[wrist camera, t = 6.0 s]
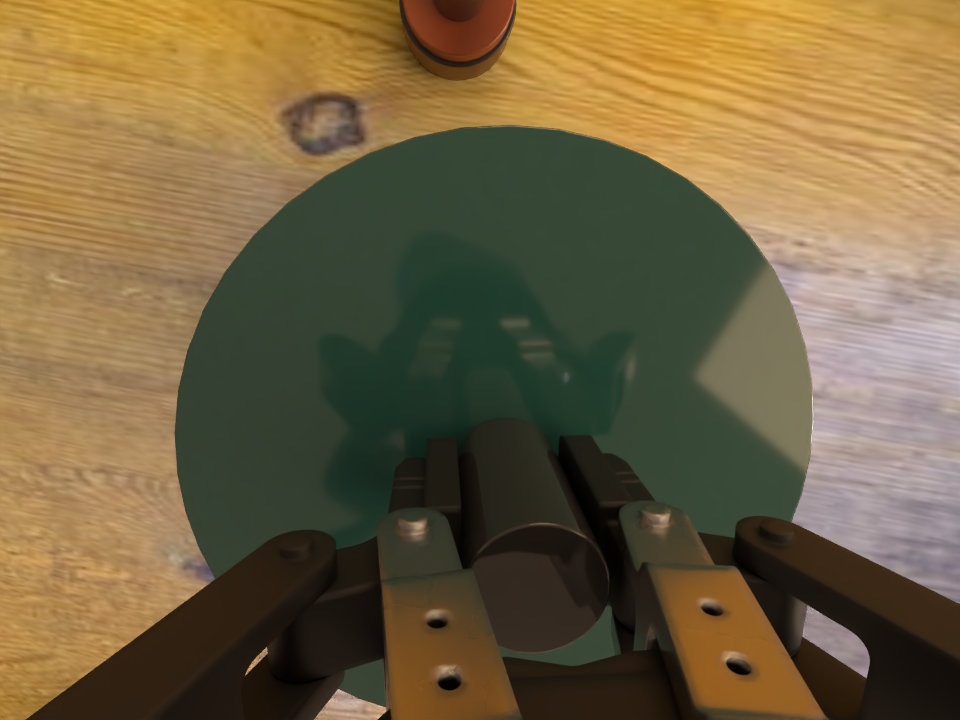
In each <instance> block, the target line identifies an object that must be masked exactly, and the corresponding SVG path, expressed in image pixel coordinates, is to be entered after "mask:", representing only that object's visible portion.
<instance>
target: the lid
mask: <svg viewBox="0 0 960 720" xmlns="http://www.w3.org/2000/svg"><path fill="white" fill-rule="evenodd" d="M813 421H814V417H813V393H812V379H811V374H810V368H809V363H808V357H807V352H806V346H805V342H804V339H803V336H802V333H801V330H800V327H799V324H798V321H797V318H796V315H795V312H794V309H793V306H792V304H791V302H790V300H789V298H788V296H787V294H786V293H785V291H784V289H783V287H782V285H781V283H780V281H779V279H778V277H777V275H776V273H775V271H774V269H773V268H772V266H771V265H770V263H769V262H768V261H767V259H766V258H765V256H764V255H763V254H762V252H761V251H760V249H759V248H758V246H757V245H756V244H755V242H754V241H753V239H752V238H751V237H750V235H749V234H748V233H747V232H746V231H745V230H744V229H743V228H742V227H741V226H740V225H739V224H738V223H737V222H736V221H735V220H734V219H733V218H732V216H731V215H730V214H729V213H728V212H727V211H726V210H725V209H724V208H723V207H722V206H721V205H720V204H719V203H717V202H716V201H715V200H713V199H712V198H711V197H710V196H708V195H707V194H706V193H704V192H703V191H702V190H701V189H699V188H698V187H697V186H695V185H694V184H693V183H692V182H690V181H689V180H688V179H686V178H685V177H683V176H681V175H680V174H678V173H676V172H674V171H672V170H671V169H669V168H667V167H665V166H664V165H662V164H660V163H658V162H657V161H655V160H653V159H651V158H649V157H648V156H646V155H643V154H640V153H638V152H635V151H633V150H630V149H627V148H625V147H622V146H620V145H617V144H615V143H612V142H609V141H607V140H604V139H600V138H596V137H591V136H587V135H583V134H578V133H574V132H570V131H565V130H561V129H554V128H542V127H530V126H518V125H500V126H482V127H464V128H458V129H453V130H448V131H443V132H438V133H433V134H428V135H423V136H418V137H414V138H411V139H408V140H405V141H402V142H400V143H397V144H394V145H391V146H388V147H385V148H382V149H380V150H377V151H374V152H371V153H369V154H367V155H365V156H363V157H361V158H359V159H357V160H355V161H353V162H351V163H349V164H347V165H345V166H343V167H341V168H340V169H338V170H336V171H334V172H332V173H330V174H328V175H326V176H325V177H323V178H322V179H320V180H319V181H318V182H316V183H315V184H313V185H312V186H311V187H309V188H308V189H306V190H305V191H304V192H302V193H301V194H299V195H298V196H297V197H295V198H294V199H292V200H291V201H290V202H288V203H287V204H286V205H285V206H284V207H283V208H282V209H281V210H280V211H279V212H278V213H277V214H275V215H274V216H273V217H272V218H271V219H270V220H269V221H268V222H267V223H266V224H265V225H264V226H263V227H262V228H261V229H260V230H259V231H258V232H257V233H256V234H254V236H253V237H252V238H251V239H250V241H249V242H248V243H247V244H246V246H245V247H244V248H243V250H242V251H241V252H240V253H239V255H238V256H237V257H236V258H235V260H234V261H233V262H232V264H231V265H230V266H229V267H228V269H227V270H226V271H225V273H224V275H223V276H222V278H221V280H220V282H219V283H218V285H217V287H216V289H215V290H214V292H213V294H212V296H211V297H210V299H209V301H208V303H207V304H206V306H205V308H204V310H203V312H202V315H201V317H200V320H199V322H198V325H197V327H196V330H195V332H194V335H193V338H192V340H191V343H190V345H189V348H188V350H187V355H186V359H185V363H184V368H183V372H182V376H181V381H180V385H179V389H178V398H177V410H176V423H175V445H176V460H177V474H178V478H179V483H180V488H181V492H182V497H183V502H184V506H185V511H186V514H187V517H188V520H189V522H190V525H191V528H192V530H193V533H194V536H195V538H196V541H197V544H198V547H199V549H200V551H201V553H202V555H203V556H204V558H205V560H206V562H207V564H208V566H209V568H210V569H211V571H212V573H213V575H214V577H215V579H217V578H218V577H219V576H221V575H222V574H223V573H225V572H226V571H228V570H229V569H230V568H232V567H233V566H234V565H236V564H237V563H238V562H240V561H241V560H242V559H244V558H245V557H246V556H248V555H249V554H251V553H252V552H253V551H255V550H256V549H257V548H259V547H260V546H261V545H263V544H264V543H265V542H267V541H268V540H270V539H272V538H274V537H276V536H278V535H281V534H283V533H287V532H290V531H295V530H318V531H322V532H325V533H327V534H329V535H331V536H332V537H333V538H334V540H335V542H336V548H337V549H341V548H345V547H350V546H354V545H358V544H361V543H363V542H366V541H368V540H370V539H372V538H374V537H375V536H377V525H378V522H379V521H380V520H381V519H382V518H383V517H384V516H386V515H387V514H388V511H389V505H390V499H391V492H392V486H393V481H394V474H395V468H396V467H397V466H398V465H399V464H400V463H401V462H402V461H403V460H404V459H405V458H426V451H427V438H456V444H457V457H458V470H459V483H460V497H461V539H462V546H461V551H460V562H461V565H462V568H463V569H469V568H471V569H472V570H473V572H474V575H475V578H476V581H477V584H478V587H479V590H480V593H481V596H482V599H483V602H484V605H485V608H486V611H487V614H488V617H489V620H490V623H491V626H492V629H493V632H494V635H495V638H496V641H497V644H498V647H499V650H500V653H501V656H502V657H514V658H521V659H527V660H534V661H541V662H547V663H554V664H561V665H568V666H578V665H583V664H586V663H590V662H594V661H597V660H601V659H605V658H608V657H612V656H615V651H614V646H613V641H612V636H611V616H612V608H611V606H606V605H607V602H608V598H609V594H610V587H611V577H610V570H609V567H608V563H607V561H606V558H605V556H604V554H603V552H602V550H601V548H600V546H599V544H598V541H597V539H596V537H595V535H594V533H593V531H592V529H591V527H590V524H589V522H588V520H587V518H586V516H585V514H584V512H583V510H582V507H581V505H580V503H579V501H578V499H577V497H576V495H575V493H574V490H573V488H572V486H571V484H570V482H569V480H568V478H567V476H566V473H565V471H564V469H563V467H562V465H561V463H560V461H559V459H558V445H559V439H560V436H563V435H591V436H592V438H593V439H594V441H595V442H596V444H597V445H598V447H599V448H600V450H601V452H602V453H613V454H614V455H616V456H618V457H620V458H621V459H623V460H625V461H626V462H628V464H629V465H630V467H631V468H632V469H633V471H634V472H635V474H636V475H637V476H638V477H639V479H640V480H641V483H643V484H644V486H645V487H646V488H647V490H648V491H649V493H650V494H651V495H652V497H653V498H654V499H655V501H656V502H662V503H666V504H669V505H672V506H674V507H676V508H678V509H680V510H682V511H683V512H684V513H686V514H687V515H688V517H689V518H690V520H691V521H692V523H693V525H694V527H695V529H696V531H697V532H701V533H707V534H713V535H720V536H726V537H733V538H734V536H735V529H736V524H737V522H738V521H739V520H741V519H743V518H746V517H750V516H768V517H774V518H779V519H782V520H786V521H789V522H791V521H792V519H793V516H794V513H795V511H796V508H797V505H798V502H799V500H800V497H801V494H802V490H803V486H804V482H805V477H806V473H807V469H808V464H809V460H810V453H811V442H812V432H813ZM338 689H340V690H342V691H344V692H346V693H349V694H351V695H353V696H355V697H357V698H359V699H362V700H365V701H368V702H371V703H374V704H377V705H380V706H383V707H386V697H385V683H384V668H383V659H380V660H377V661H373V662H370V663H367V664H364V665H360V666H357V667H354V668H351V669H348V670H345V675H344V679H343V681H342V684H341V685H340V687H339V688H338Z"/></svg>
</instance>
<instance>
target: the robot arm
mask: <svg viewBox="0 0 960 720" xmlns="http://www.w3.org/2000/svg"><path fill="white" fill-rule="evenodd" d="M558 459H559V461H560V463H561V465H562V467H563V469H564V471H565V473H566V476H567V478H568V480H569V482H570V484H571V486H572V488H573V490H574V493H575V495H576V497H577V499H578V501H579V503H580V505H581V507H582V510H583V512H584V514H585V516H586V518H587V520H588V522H589V524H590V527H591V529H592V531H593V533H594V535H595V537H596V539H597V541H598V544H599V546H600V548H601V550H602V552H603V554H604V556H605V558H606V561H607V563H608V567H609V570H610V577H611V587H610V594H609V598H608V602H607V605H606V606H611V608H612V616H611V636H612V641H613V646H614V651H615V656H612V657H608V658H605V659H601V660H597V661H594V662H590V663H586V664H583V665H578V666H568V665H561V664H554V663H547V662H541V661H534V660H527V659H521V658H514V657H502V656H501V653H500V650H499V647H498V644H497V641H496V638H495V635H494V632H493V629H492V626H491V623H490V620H489V617H488V614H487V611H486V608H485V605H484V602H483V599H482V596H481V593H480V590H479V587H478V584H477V581H476V578H475V575H474V572H473V570H472V569H471V568H469V569H463V568H462V565H461V562H460V551H461V546H462V539H461V497H460V483H459V470H458V457H457V444H456V438H427V451H426V458H405V459H404V460H403V461H402V462H401V463H400V464H399V465H398V466H397V467H396V468H395V474H394V481H393V486H392V492H391V499H390V505H389V511H388V514H387V515H386V516H384V517H383V518H382V519H381V520H380V521H379V522H378V525H377V536H375V537H374V538H372V539H370V540H368V541H366V542H363V543H361V544H358V545H354V546H350V547H345V548H341V549H337V548H336V542H335V540H334V538H333V537H332V536H331V535H329V534H327V533H325V532H322V531H318V530H295V531H290V532H287V533H283V534H281V535H278V536H276V537H274V538H272V539H270V540H268V541H267V542H265V543H264V544H263V545H261V546H260V547H259V548H257V549H256V550H255V551H253V552H252V553H251V554H249V555H248V556H246V557H245V558H244V559H242V560H241V561H240V562H238V563H237V564H236V565H234V566H233V567H232V568H230V569H229V570H228V571H226V572H225V573H223V574H222V575H221V576H219V577H218V578H217V579H215V580H214V581H213V582H211V583H210V584H209V585H207V586H206V587H204V588H203V589H202V590H200V591H199V592H198V593H196V594H195V595H194V596H192V597H191V598H190V599H188V600H187V601H186V602H184V603H183V604H181V605H180V606H179V607H177V608H176V609H175V610H173V611H172V612H171V613H169V614H168V615H167V616H165V617H164V618H163V619H161V620H160V621H158V622H157V623H156V624H154V625H153V626H152V627H150V628H149V629H148V630H146V631H145V632H144V633H142V634H141V635H140V636H138V637H137V638H135V639H134V640H133V641H131V642H130V643H129V644H127V645H126V646H125V647H123V648H122V649H121V650H119V651H118V652H117V653H115V654H114V655H112V656H111V657H110V658H108V659H107V660H106V661H104V662H103V663H102V664H100V665H99V666H98V667H96V668H95V669H94V670H92V671H91V672H89V673H88V674H87V675H85V676H84V677H83V678H81V679H80V680H79V681H77V682H76V683H75V684H73V685H72V686H71V687H69V688H68V689H66V690H65V691H64V692H62V693H61V694H60V695H58V696H57V697H56V698H54V699H53V700H52V701H50V702H49V703H48V704H46V705H45V706H43V707H42V708H41V709H39V710H38V711H37V712H35V713H34V714H33V715H31V716H30V717H29V718H27V719H26V720H314V718H315V717H316V716H317V715H318V713H319V712H320V711H321V710H322V708H323V707H324V706H325V705H326V703H327V702H328V701H329V700H330V698H331V697H332V696H333V694H334V693H335V692H336V691H337V689H338V688H339V687H340V685H341V684H342V681H343V679H344V675H345V670H348V669H351V668H354V667H357V666H360V665H364V664H367V663H370V662H373V661H377V660H380V659H383V668H384V683H385V697H386V712H385V713H384V714H383V715H382V716H381V717H380V718H379V719H378V720H960V604H958V603H956V602H954V601H952V600H950V599H948V598H946V597H944V596H942V595H940V594H938V593H936V592H934V591H932V590H930V589H928V588H926V587H924V586H921V585H919V584H917V583H915V582H913V581H911V580H909V579H907V578H905V577H903V576H901V575H899V574H897V573H895V572H893V571H891V570H889V569H887V568H885V567H882V566H880V565H878V564H876V563H874V562H872V561H870V560H868V559H866V558H864V557H862V556H860V555H858V554H856V553H854V552H852V551H850V550H848V549H846V548H843V547H841V546H839V545H837V544H835V543H833V542H831V541H829V540H827V539H825V538H823V537H821V536H819V535H817V534H815V533H813V532H811V531H809V530H807V529H804V528H802V527H800V526H798V525H796V524H794V523H791V522H789V521H786V520H782V519H779V518H774V517H768V516H750V517H746V518H743V519H741V520H739V521H738V522H737V524H736V529H735V536H734V538H733V537H726V536H720V535H713V534H707V533H701V532H697V531H696V529H695V527H694V525H693V523H692V521H691V520H690V518H689V517H688V515H687V514H686V513H684V512H683V511H682V510H680V509H678V508H676V507H674V506H672V505H669V504H666V503H662V502H656V501H655V499H654V498H653V497H652V495H651V494H650V493H649V491H648V490H647V488H646V487H645V486H644V484H643V483H641V480H640V479H639V477H638V476H637V475H636V474H635V472H634V471H633V469H632V468H631V467H630V465H629V464H628V462H626V461H625V460H623V459H621V458H620V457H618V456H616V455H614V454H613V453H602V452H601V450H600V448H599V447H598V445H597V444H596V442H595V441H594V439H593V438H592V436H591V435H563V436H560V439H559V445H558ZM807 605H808V606H810V607H812V608H813V609H815V610H817V611H818V612H820V613H822V614H823V615H825V616H827V617H828V618H830V619H832V620H833V621H835V622H837V623H838V624H840V625H842V626H843V627H845V628H847V629H848V630H850V631H852V632H853V633H854V634H855V635H857V636H858V637H859V638H860V639H861V641H862V642H863V643H864V645H865V646H866V648H867V650H868V653H869V656H870V666H869V670H868V675H867V679H866V678H865V677H863V676H862V675H860V674H859V673H857V672H856V671H854V670H853V669H851V668H850V667H848V666H846V665H845V664H843V663H842V662H840V661H839V660H837V659H836V658H834V657H833V656H831V655H830V654H828V653H826V652H825V651H823V650H822V649H820V648H819V647H817V646H816V645H814V644H813V643H811V642H810V641H808V640H807V639H805V638H803V637H802V633H803V627H804V621H805V616H806V610H807ZM266 647H267V650H268V654H267V655H266V656H265V657H264V658H263V659H262V660H261V661H260V662H259V663H258V664H257V665H256V666H255V667H254V668H253V669H252V670H251V671H250V672H249V673H248V674H247V675H246V676H245V674H246V671H247V669H248V667H249V666H250V664H251V663H252V661H253V660H254V659H255V658H256V657H257V656H258V655H259V654H260V653H261V652H262V651H263V650H264V649H265V648H266ZM244 676H245V677H244Z"/></svg>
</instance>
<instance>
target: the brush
mask: <svg viewBox="0 0 960 720" xmlns="http://www.w3.org/2000/svg"><path fill="white" fill-rule="evenodd" d="M399 6H400V14H401V19H402V23H403V28H404V32H405V36H406V39H407V43H408V45H409V47H410V49H411V51H412V53H413V55H414V56H415V58H416V59H417V60H418V61H419V63H420V64H421V65H422V66H423V67H424V68H426V69H427V70H428V71H430V72H431V73H433V74H435V75H437V76H439V77H442V78H445V79H449V80H466V79H471V78H474V77H477V76H479V75H481V74H482V73H484V72H485V71H487V70H488V69H489V68H490V67H491V66H493V65H494V63H495V62H496V61H497V60H498V58H499V57H500V55H501V54H502V52H503V49H504V47H505V45H506V42H507V40H508V37H509V35H510V32H511V30H512V26H513V23H514V19H515V14H516V0H399Z"/></svg>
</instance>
